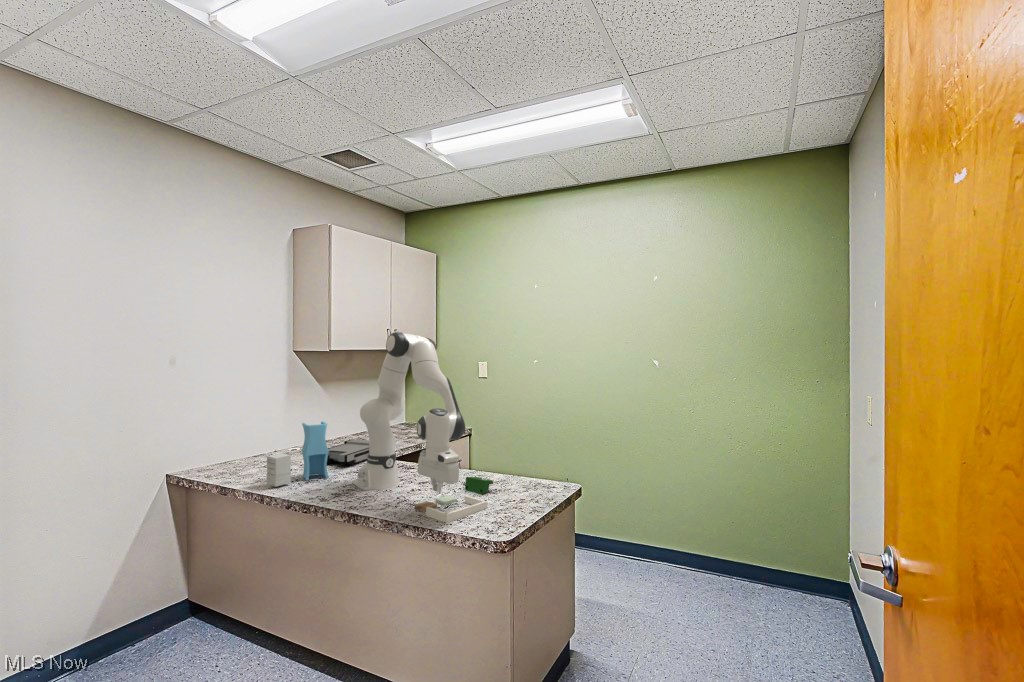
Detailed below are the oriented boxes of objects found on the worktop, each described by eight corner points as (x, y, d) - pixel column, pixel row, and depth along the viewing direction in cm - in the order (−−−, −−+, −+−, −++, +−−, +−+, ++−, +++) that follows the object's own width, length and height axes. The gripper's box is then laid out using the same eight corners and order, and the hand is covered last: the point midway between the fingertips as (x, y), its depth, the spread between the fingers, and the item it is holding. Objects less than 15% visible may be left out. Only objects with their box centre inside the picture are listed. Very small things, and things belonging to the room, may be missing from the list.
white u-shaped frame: (426, 515, 186) (426, 507, 186) (466, 503, 201) (466, 495, 201) (446, 523, 178) (446, 514, 178) (487, 509, 193) (487, 501, 193)
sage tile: (435, 503, 201) (435, 498, 201) (447, 500, 205) (447, 495, 205) (444, 507, 197) (444, 501, 197) (456, 503, 201) (456, 498, 201)
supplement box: (281, 480, 233) (282, 453, 233) (291, 483, 229) (291, 455, 229) (266, 484, 227) (266, 455, 227) (275, 486, 223) (275, 458, 223)
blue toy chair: (323, 472, 247) (323, 421, 248) (328, 477, 239) (328, 423, 239) (301, 475, 242) (302, 422, 242) (306, 480, 234) (306, 425, 234)
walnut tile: (414, 510, 193) (414, 504, 194) (426, 506, 198) (426, 501, 198) (424, 513, 190) (424, 508, 190) (437, 509, 194) (437, 504, 194)
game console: (313, 466, 262) (313, 450, 262) (351, 453, 293) (352, 439, 293) (347, 469, 256) (347, 453, 256) (383, 456, 286) (383, 441, 286)
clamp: (488, 502, 214) (497, 483, 213) (478, 502, 210) (487, 483, 209) (471, 486, 222) (480, 468, 221) (461, 486, 218) (470, 467, 217)
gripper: (413, 450, 193) (413, 486, 193) (448, 459, 179) (447, 499, 179) (427, 447, 198) (426, 483, 198) (462, 456, 184) (461, 495, 184)
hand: (436, 490), depth 188 cm, fingers closed
